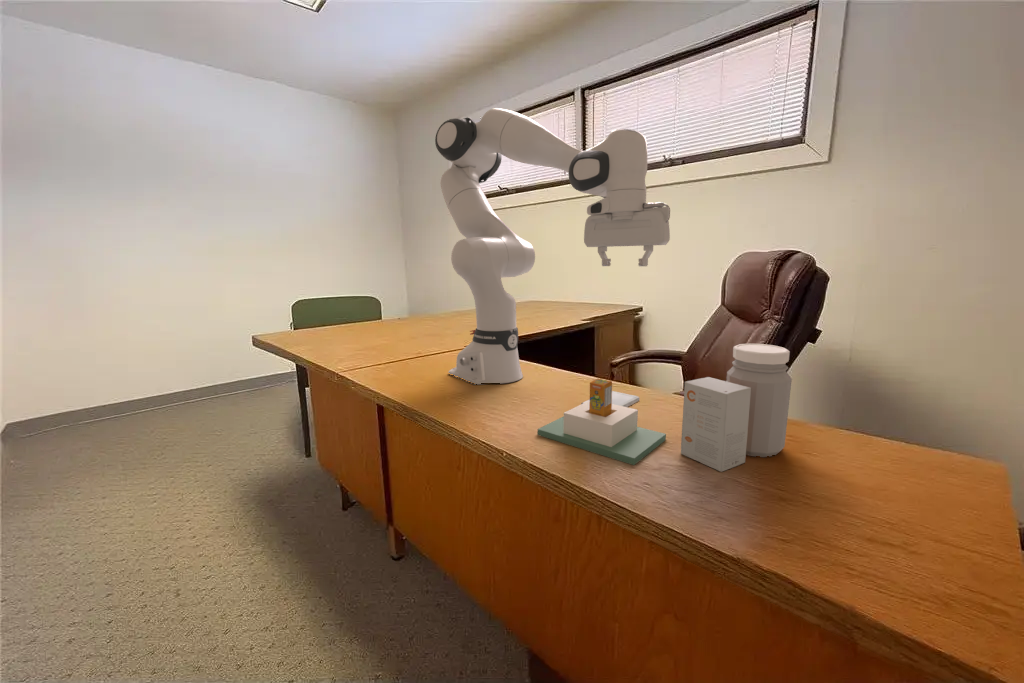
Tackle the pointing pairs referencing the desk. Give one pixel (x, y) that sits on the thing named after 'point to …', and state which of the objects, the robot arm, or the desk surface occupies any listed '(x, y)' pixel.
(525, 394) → the desk surface
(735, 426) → the small box
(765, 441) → the jar
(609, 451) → the board
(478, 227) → the robot arm
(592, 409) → the supplement box
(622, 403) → the hard drive
